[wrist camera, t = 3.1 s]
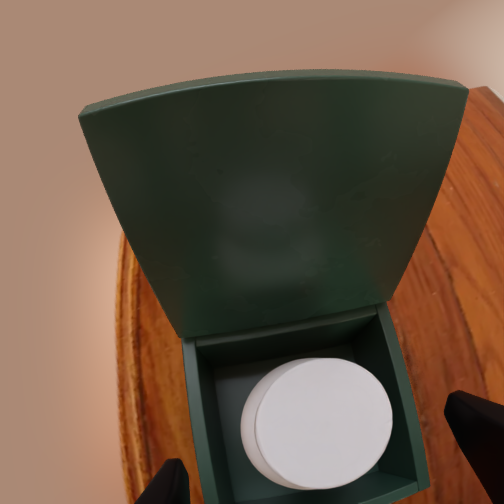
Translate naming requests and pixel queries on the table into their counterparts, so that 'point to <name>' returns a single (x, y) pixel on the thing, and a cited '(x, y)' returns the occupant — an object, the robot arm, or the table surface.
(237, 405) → the green square box
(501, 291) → the table surface
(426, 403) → the table surface
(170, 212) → the lid
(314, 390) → the pill bottle
